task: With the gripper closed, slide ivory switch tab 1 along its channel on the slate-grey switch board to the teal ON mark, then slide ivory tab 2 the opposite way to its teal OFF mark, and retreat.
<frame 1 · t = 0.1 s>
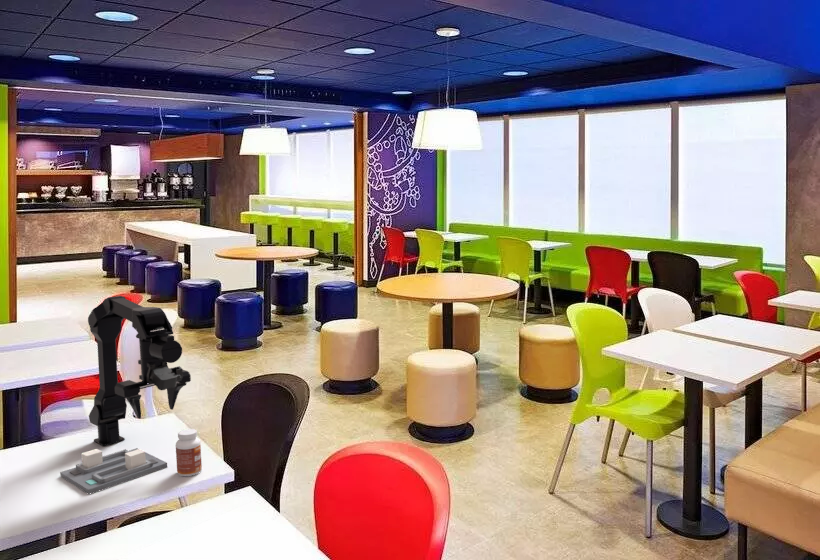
hand: (155, 413, 183), 15 cm above the table, fingers open, 9 cm apart
switch board: (114, 471, 182), on the table
tab1: (92, 459, 181), point 3 cm above the table, slide at 0.0 cm
tab2: (135, 459, 181), point 3 cm above the table, slide at 0.0 cm
pill bottle: (189, 472, 181), on the table
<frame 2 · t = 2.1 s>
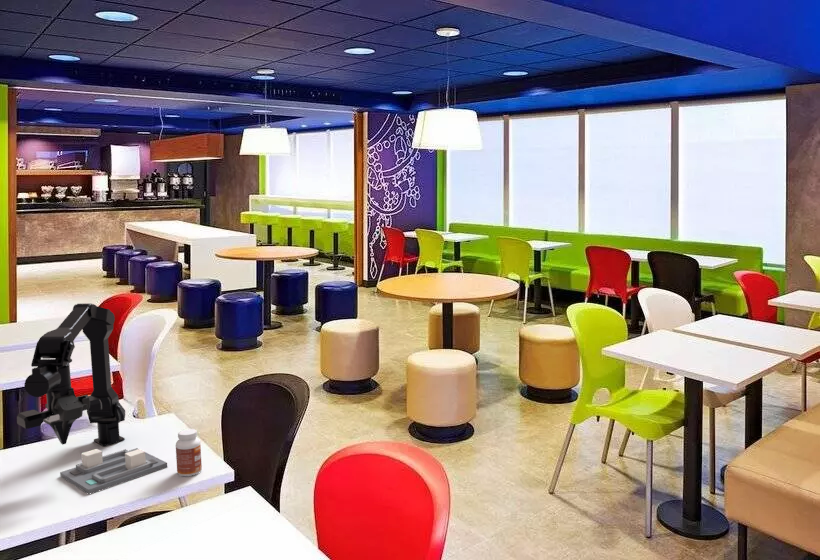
hand: (63, 443, 175), 10 cm above the table, fingers closed
nothing on the table moved.
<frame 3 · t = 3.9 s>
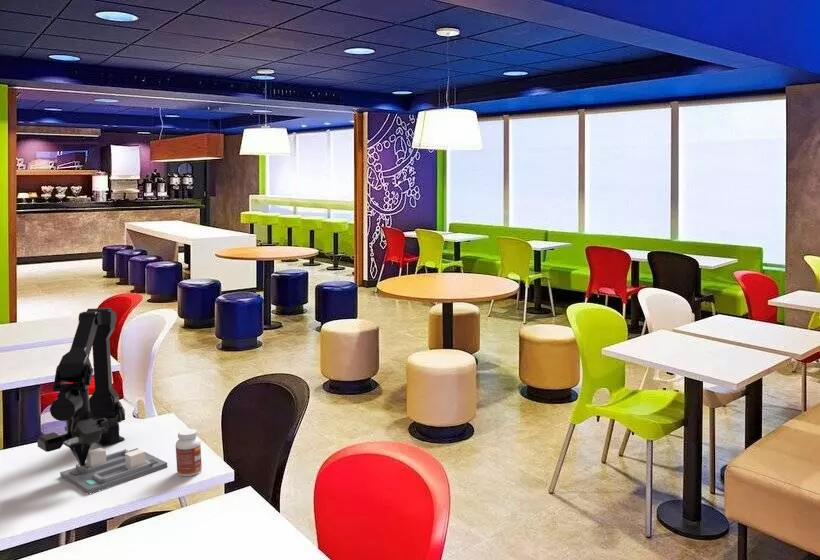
hand: (82, 465, 180), 3 cm above the table, fingers closed
tab1: (96, 458, 182), point 3 cm above the table, slide at 1.0 cm, touching gripper
everything else where it was.
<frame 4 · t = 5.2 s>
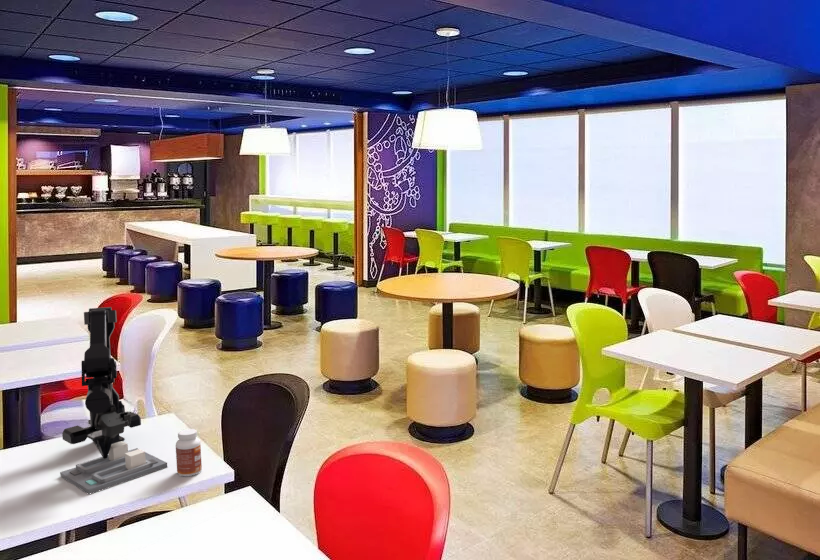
hand: (105, 457, 184), 3 cm above the table, fingers closed
tab1: (118, 451, 187), point 3 cm above the table, slide at 7.0 cm, touching gripper
everything else where it was.
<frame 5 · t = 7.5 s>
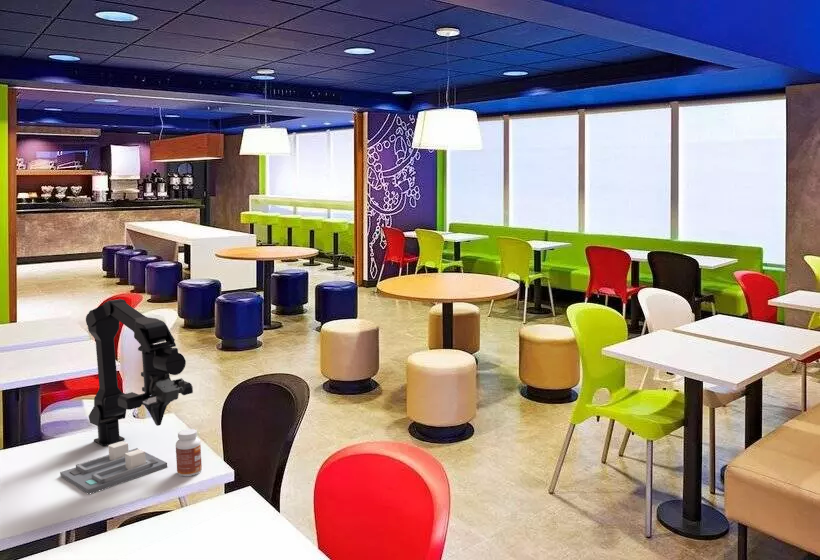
hand: (158, 425, 185), 11 cm above the table, fingers closed
tab1: (118, 451, 187), point 3 cm above the table, slide at 7.2 cm
everything else where it was.
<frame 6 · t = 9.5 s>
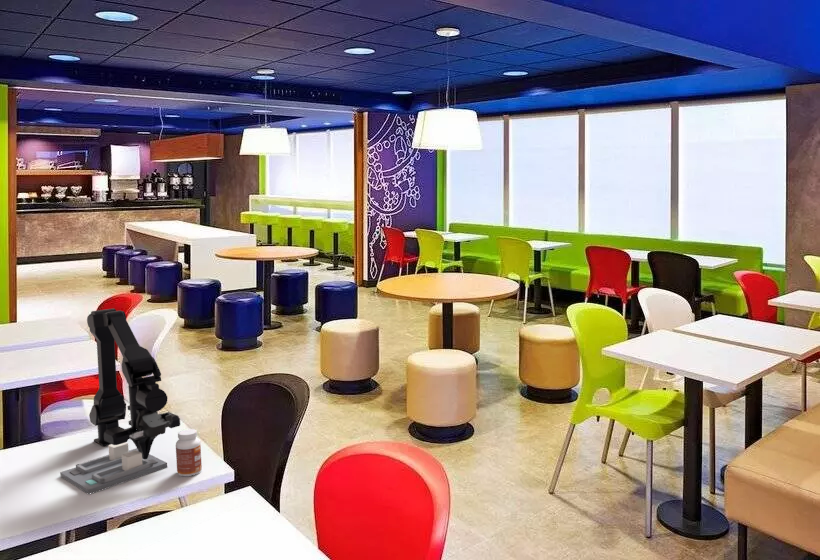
hand: (145, 458, 183), 3 cm above the table, fingers closed
tab2: (132, 461, 180), point 3 cm above the table, slide at 1.0 cm, touching gripper
everything else where it was.
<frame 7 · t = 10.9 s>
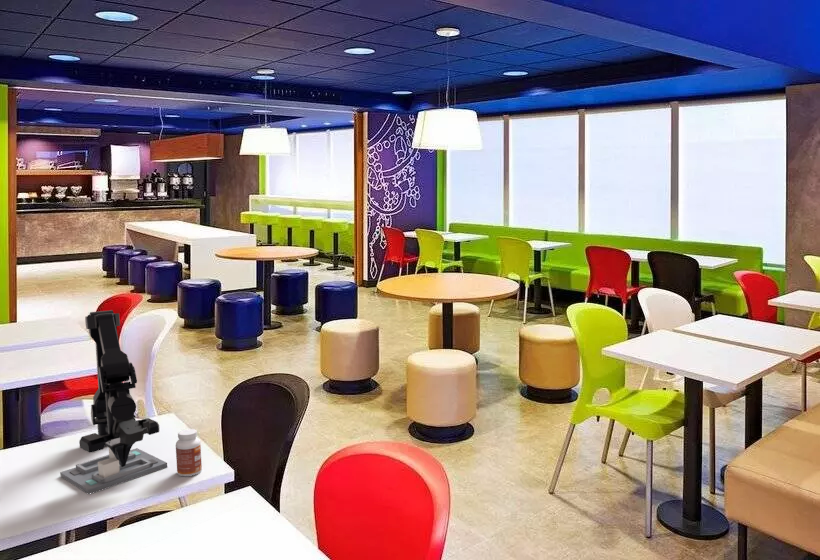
hand: (122, 466, 178), 3 cm above the table, fingers closed
tab2: (108, 468, 176), point 3 cm above the table, slide at 7.1 cm, touching gripper
everything else where it was.
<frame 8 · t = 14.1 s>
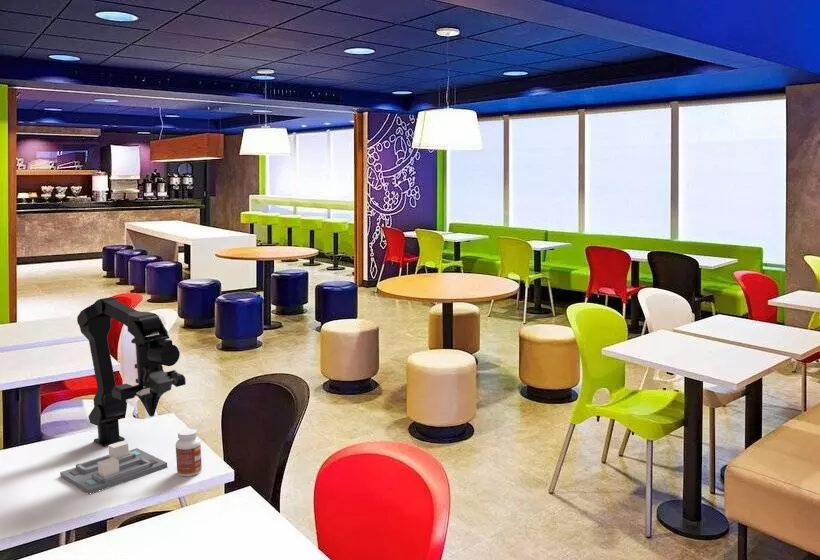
hand: (151, 416, 189), 12 cm above the table, fingers closed
tab2: (108, 468, 176), point 3 cm above the table, slide at 7.2 cm
everything else where it was.
at the end: tab1 slide at 7.2 cm; tab2 slide at 7.2 cm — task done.
